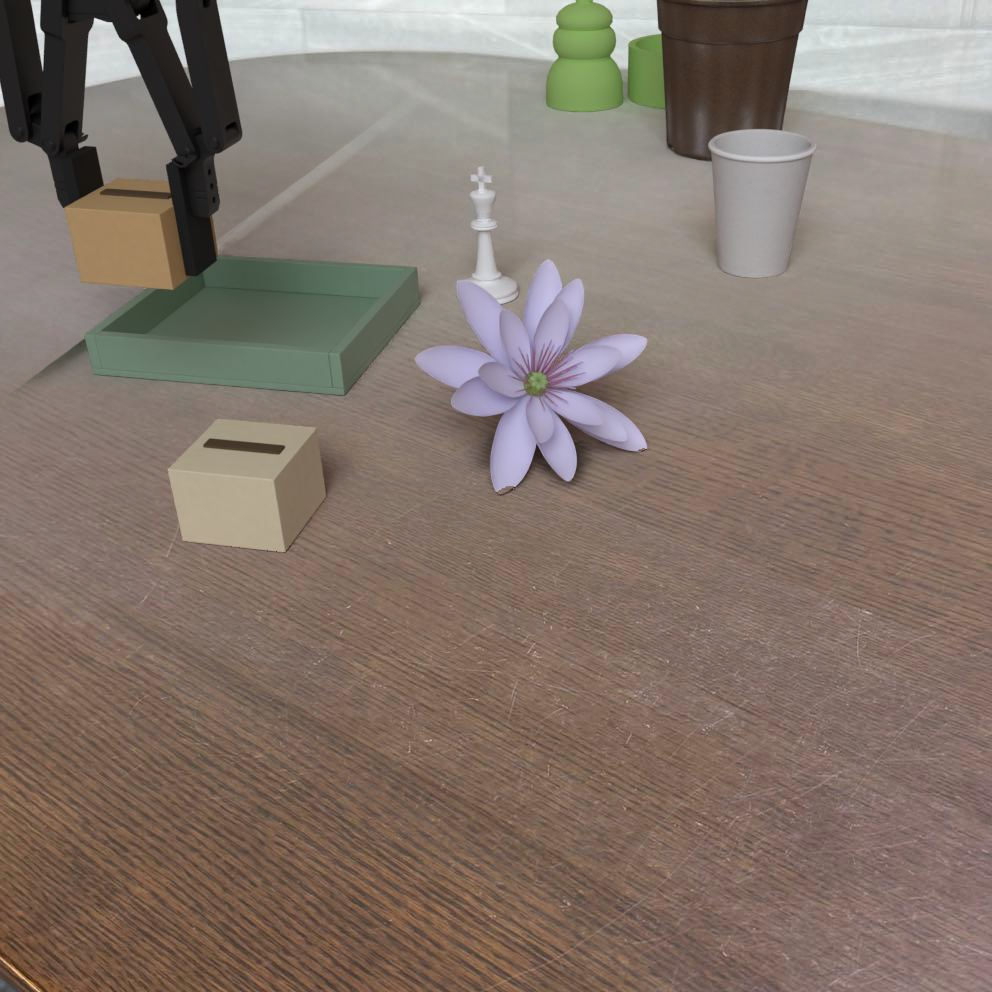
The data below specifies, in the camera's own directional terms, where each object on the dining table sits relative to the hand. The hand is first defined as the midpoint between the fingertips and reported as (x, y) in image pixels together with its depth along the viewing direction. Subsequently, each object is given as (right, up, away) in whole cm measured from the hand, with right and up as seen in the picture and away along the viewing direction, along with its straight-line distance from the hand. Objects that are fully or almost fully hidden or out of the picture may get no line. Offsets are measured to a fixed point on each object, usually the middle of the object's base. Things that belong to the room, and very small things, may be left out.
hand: (150, 263), depth 73 cm
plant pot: (+43, +25, +57) cm, 76 cm away
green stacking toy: (+37, +38, +77) cm, 93 cm away
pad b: (0, 0, 0) cm, 0 cm away
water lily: (+24, -12, 0) cm, 26 cm away
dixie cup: (+41, +6, +26) cm, 49 cm away
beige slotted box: (+8, -16, -6) cm, 18 cm away
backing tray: (+3, -2, +16) cm, 16 cm away
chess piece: (+19, +2, +22) cm, 30 cm away
